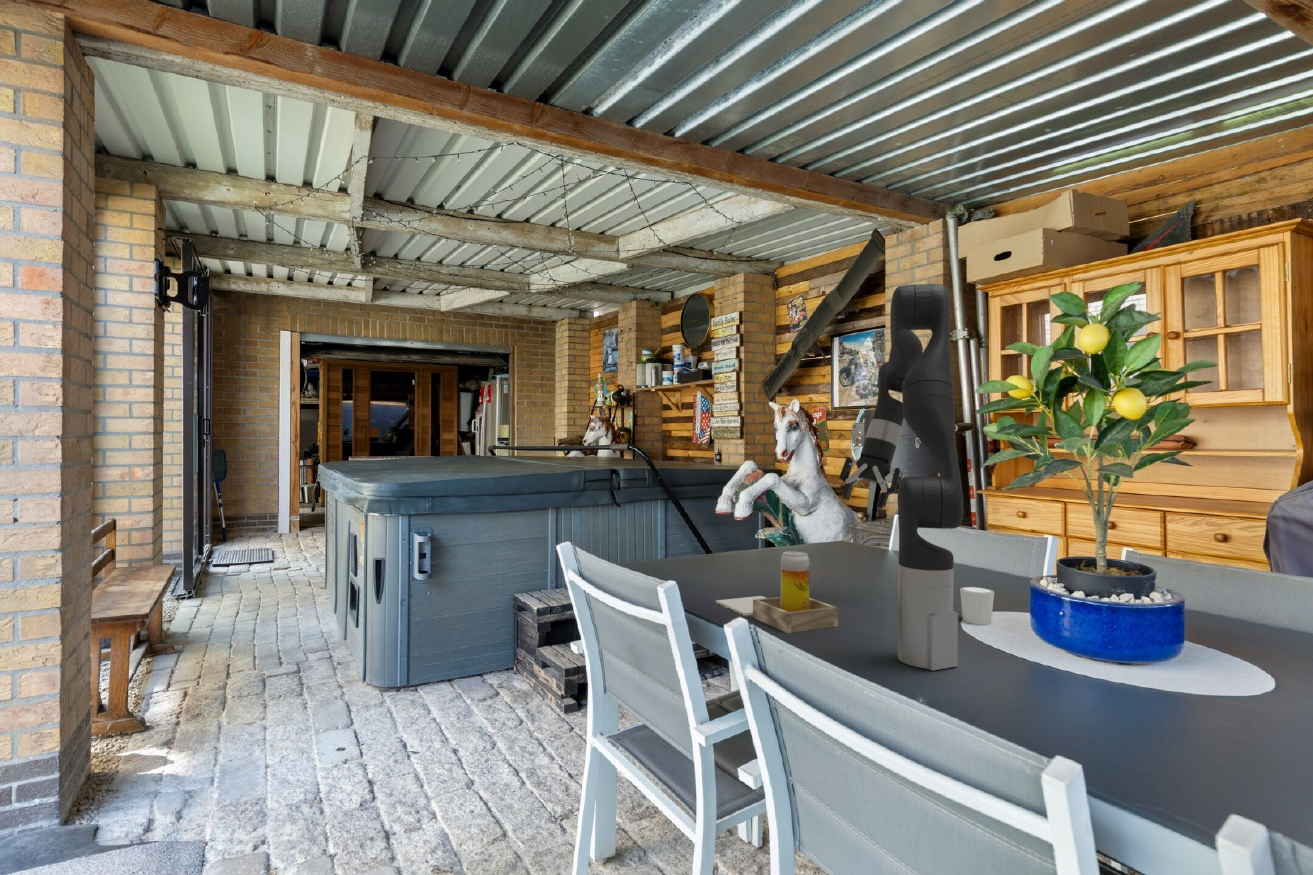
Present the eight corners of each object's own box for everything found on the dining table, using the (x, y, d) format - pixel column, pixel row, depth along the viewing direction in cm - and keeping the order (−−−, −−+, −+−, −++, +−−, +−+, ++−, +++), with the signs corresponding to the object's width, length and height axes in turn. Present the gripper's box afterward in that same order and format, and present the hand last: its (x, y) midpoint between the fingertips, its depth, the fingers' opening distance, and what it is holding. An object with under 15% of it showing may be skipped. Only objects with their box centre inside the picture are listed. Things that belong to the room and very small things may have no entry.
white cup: (986, 617, 153) (987, 586, 153) (999, 625, 146) (999, 593, 146) (955, 616, 153) (955, 585, 153) (966, 624, 146) (966, 592, 146)
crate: (837, 626, 144) (837, 607, 144) (787, 633, 139) (787, 613, 139) (800, 611, 156) (800, 594, 156) (752, 617, 151) (753, 599, 151)
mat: (792, 610, 157) (792, 607, 157) (744, 615, 152) (744, 613, 152) (761, 598, 169) (761, 595, 169) (715, 602, 164) (715, 600, 164)
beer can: (809, 626, 144) (809, 556, 144) (780, 624, 145) (780, 554, 145) (808, 619, 150) (808, 551, 150) (780, 617, 151) (781, 550, 151)
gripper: (848, 431, 167) (829, 493, 165) (905, 442, 158) (885, 508, 156) (859, 439, 172) (841, 500, 171) (914, 450, 163) (895, 514, 162)
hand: (862, 504), depth 163 cm, fingers open, 8 cm apart
